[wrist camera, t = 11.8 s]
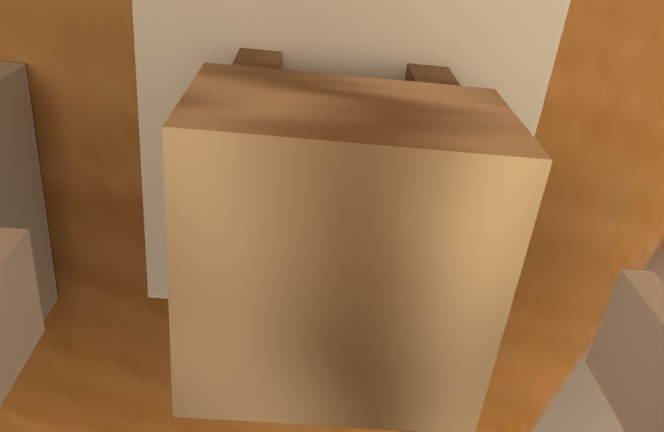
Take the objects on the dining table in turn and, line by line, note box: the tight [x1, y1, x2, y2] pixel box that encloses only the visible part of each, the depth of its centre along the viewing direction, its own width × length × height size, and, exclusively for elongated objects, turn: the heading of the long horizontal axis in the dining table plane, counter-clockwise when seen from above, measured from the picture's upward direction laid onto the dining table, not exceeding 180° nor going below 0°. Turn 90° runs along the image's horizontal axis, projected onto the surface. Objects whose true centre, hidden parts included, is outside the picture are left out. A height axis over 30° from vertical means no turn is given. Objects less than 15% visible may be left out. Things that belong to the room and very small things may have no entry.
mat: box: [132, 0, 571, 299], centre depth 23 cm, size 14×14×1 cm
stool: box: [162, 48, 553, 432], centre depth 19 cm, size 8×8×9 cm
